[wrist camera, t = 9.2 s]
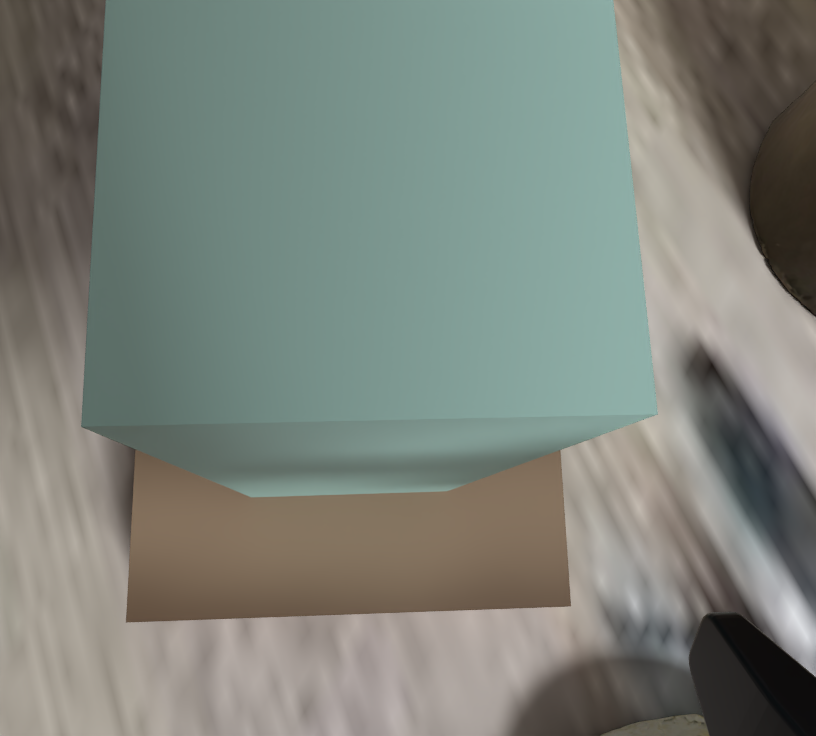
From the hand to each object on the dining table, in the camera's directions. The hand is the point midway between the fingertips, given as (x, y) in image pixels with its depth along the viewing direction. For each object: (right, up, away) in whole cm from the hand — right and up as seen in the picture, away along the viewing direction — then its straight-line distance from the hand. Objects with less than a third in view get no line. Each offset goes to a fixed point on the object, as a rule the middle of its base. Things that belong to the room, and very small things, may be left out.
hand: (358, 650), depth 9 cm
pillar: (-1, +3, +10) cm, 11 cm away
